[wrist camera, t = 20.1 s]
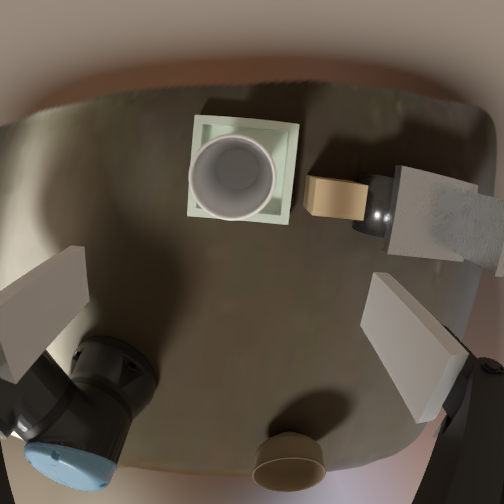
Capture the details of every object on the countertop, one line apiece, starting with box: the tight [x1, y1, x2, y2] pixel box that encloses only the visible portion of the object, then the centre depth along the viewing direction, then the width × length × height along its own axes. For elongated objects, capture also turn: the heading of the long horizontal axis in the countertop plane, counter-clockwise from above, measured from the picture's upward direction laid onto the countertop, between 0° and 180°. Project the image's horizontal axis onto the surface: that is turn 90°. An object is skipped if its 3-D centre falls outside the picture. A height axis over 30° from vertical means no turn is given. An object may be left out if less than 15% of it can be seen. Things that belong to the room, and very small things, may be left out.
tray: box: [187, 115, 299, 225], centre depth 36 cm, size 12×12×2 cm
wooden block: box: [303, 175, 368, 221], centre depth 36 cm, size 6×4×6 cm, turn 85°
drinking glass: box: [189, 134, 277, 221], centre depth 30 cm, size 7×7×15 cm
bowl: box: [252, 432, 326, 492], centre depth 47 cm, size 13×13×10 cm
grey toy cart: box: [352, 165, 504, 277], centre depth 32 cm, size 17×10×16 cm, turn 85°
